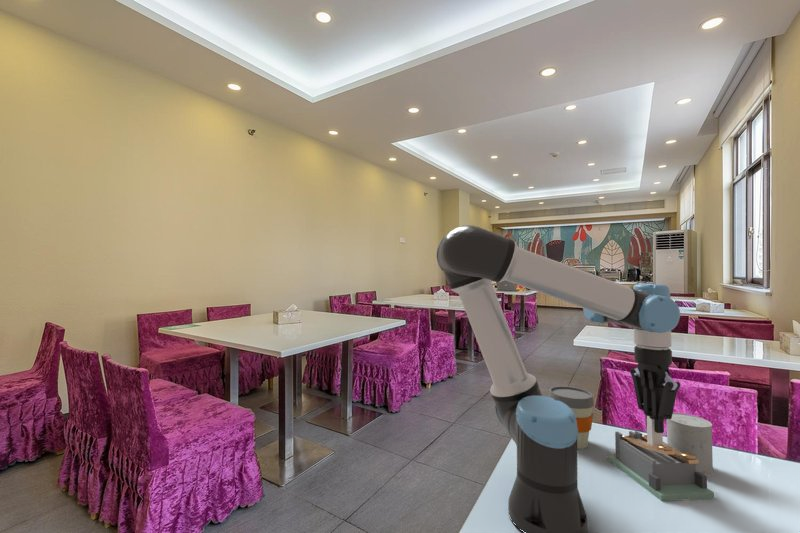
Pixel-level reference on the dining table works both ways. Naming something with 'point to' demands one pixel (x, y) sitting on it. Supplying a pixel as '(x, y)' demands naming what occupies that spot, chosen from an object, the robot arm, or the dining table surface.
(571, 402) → the reusable coffee cup
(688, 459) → the strap
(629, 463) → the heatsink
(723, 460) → the dining table surface
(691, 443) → the gray concrete cylinder
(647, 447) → the strap
